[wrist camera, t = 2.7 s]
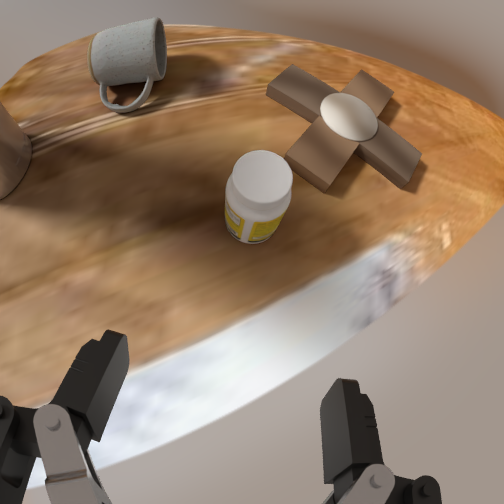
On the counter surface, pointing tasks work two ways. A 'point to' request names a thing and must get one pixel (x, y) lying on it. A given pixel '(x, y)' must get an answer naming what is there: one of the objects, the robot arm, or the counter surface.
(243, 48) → the counter surface
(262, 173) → the supplement bottle
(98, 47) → the ceramic mug
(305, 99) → the walnut cross joint
